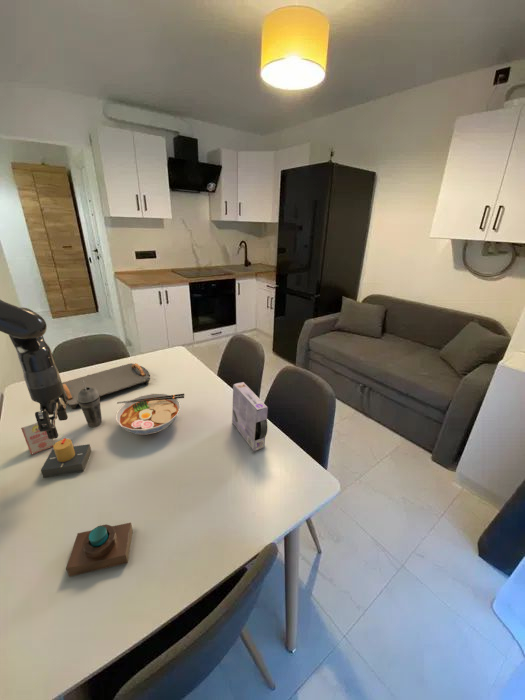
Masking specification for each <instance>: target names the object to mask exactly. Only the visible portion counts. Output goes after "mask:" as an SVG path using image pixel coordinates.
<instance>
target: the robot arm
mask: <svg viewBox="0 0 525 700" xmlns="http://www.w3.org/2000/svg"><path fill="white" fill-rule="evenodd" d="M47 325H48V324H47V322H46V321H45V318H44V317H43V316H42V315H40V314H39V313H37V312H35V311H33V310H32V309H30V308H27V307H24V306H23V307H22V306H17V305H14V304H11V303H8V302H7V301H4V300H2V299H0V332H1V333H4V334H6V335H8V337H9V339H10V341H11V343H12V345H13V347H14V348H15V351H16V353H17V357H18V361H19V364H20V367H21V370H22V374H23V379H24V382H25V385H26V388H27V391H28V394H29V396H30V399H31V400H32V401H33V402H35V403H38V404H39V411H35V412H34V416H35V420H36V423H38V426H39V430H40V432H43V431H46V432H47V435H48V438H49V439H53V440H54V439H55V440H56V439H58V437H59V433H58V430H57V427H56V420H57V419H58V421H59V422H60V421H61V422H62V421H67V420H68V417H69V416H68V413H67V410H66V408H67V405H66V404H65V403H67V399H66V395H65V392H64V388H63V385H62V383H63V382H62V378H61V376H60V375H61V374H60V372H59V369H58V366H57V365H56V362H55V358H54V355H53V352H52V349H51V347H50V346H49V344H48V343H47V342H46V340H45V338H44V335H45V334H46V333H47V329H48V327H47ZM62 398H63V400H62Z"/></svg>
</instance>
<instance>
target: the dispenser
mask: <svg viewBox="0 0 525 700" xmlns="http://www.w3.org/2000/svg"><path fill="white" fill-rule="evenodd" d="M99 526H104V527H105V528H106V530H107V533H108V539H107V541H106V542H105V543H104V544H103V545H101V546H99V547H93V546H91V543H90V540H89V534H90V533H91V531H92V530H93V529H95V528H96V527H94V528H93V529H91V530H87V531H82V532H78V533H76V536H75V540H74V542H73V547H72V548H71V553H70V555H69V558H68V561H67V564H66V568H65V569H66V572H67V575H68V577H69V578H70V577H74V576H78V575H82V574H86V573H91V572H96V571H100V570H103V569H104V570H105V569H107V568H112V567H116V566H120V565H121V566H122V565H125V564H128V563H129V558H130V551H131V545H132V539H133V538H132V537H133V532H134V529H133V525H132V522H127V523H121V524H117V525H109V524H102V525H101V524H100V525H98V526H97V527H99Z"/></svg>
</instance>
